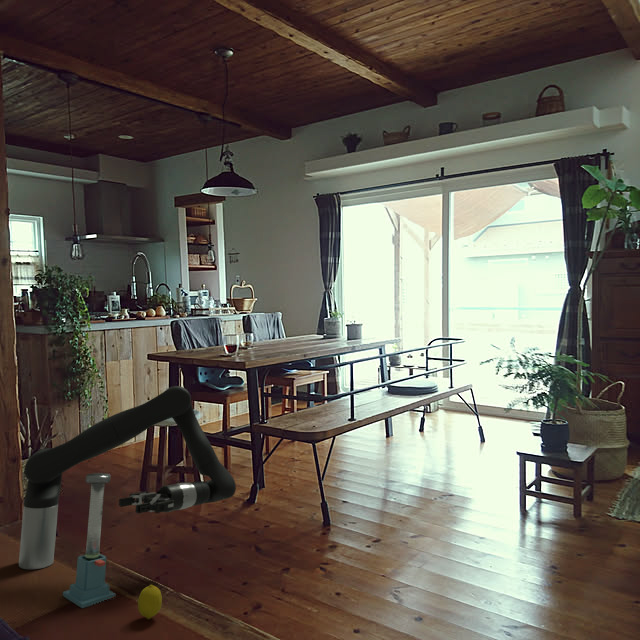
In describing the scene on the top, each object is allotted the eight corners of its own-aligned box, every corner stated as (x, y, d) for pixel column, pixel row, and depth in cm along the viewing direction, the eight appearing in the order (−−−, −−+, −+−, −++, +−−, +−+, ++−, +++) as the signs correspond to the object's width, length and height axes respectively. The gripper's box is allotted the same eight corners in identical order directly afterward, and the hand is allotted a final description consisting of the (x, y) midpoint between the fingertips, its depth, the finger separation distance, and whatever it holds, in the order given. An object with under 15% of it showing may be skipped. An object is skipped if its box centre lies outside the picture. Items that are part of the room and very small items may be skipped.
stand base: (62, 595, 146) (66, 556, 146) (95, 586, 153) (98, 548, 153) (82, 608, 139) (85, 567, 140) (115, 597, 146) (118, 558, 147)
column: (74, 570, 146) (81, 474, 148) (96, 564, 151) (103, 472, 152) (85, 576, 142) (93, 478, 144) (107, 570, 147) (115, 475, 149)
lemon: (153, 625, 132) (156, 590, 133) (132, 622, 133) (134, 587, 134) (164, 615, 138) (167, 582, 138) (144, 612, 139) (146, 579, 139)
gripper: (163, 479, 172) (114, 487, 159) (192, 488, 163) (143, 497, 150) (162, 504, 171) (113, 514, 159) (191, 514, 162) (141, 525, 150)
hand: (127, 506), depth 155 cm, fingers open, 8 cm apart
